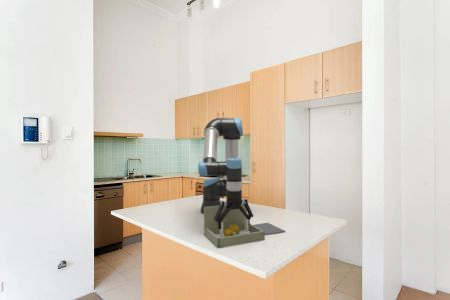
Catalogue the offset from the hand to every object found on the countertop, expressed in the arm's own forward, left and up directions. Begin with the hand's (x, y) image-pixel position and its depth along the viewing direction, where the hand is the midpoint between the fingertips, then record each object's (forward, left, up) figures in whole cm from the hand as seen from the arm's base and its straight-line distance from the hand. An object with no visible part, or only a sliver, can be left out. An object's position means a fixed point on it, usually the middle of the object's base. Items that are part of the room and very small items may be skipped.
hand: (234, 233), depth 119 cm
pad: (-5, +22, -2) cm, 23 cm away
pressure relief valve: (+1, +1, -2) cm, 3 cm away
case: (0, 0, -2) cm, 2 cm away
